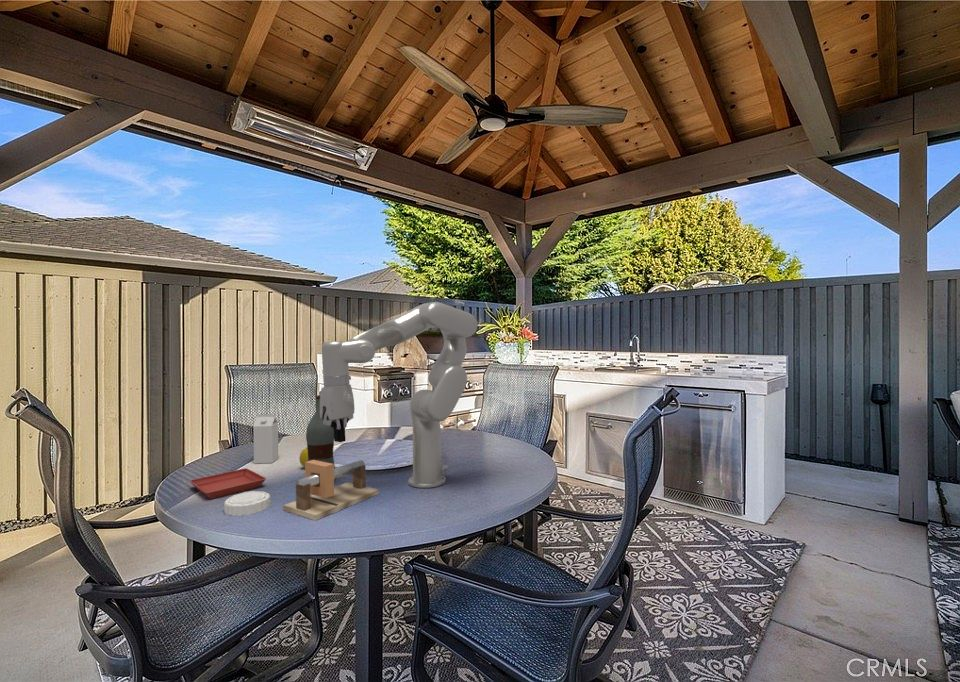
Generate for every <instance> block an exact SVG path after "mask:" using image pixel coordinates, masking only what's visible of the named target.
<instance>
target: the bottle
mask: <svg viewBox="0 0 960 682" xmlns="http://www.w3.org/2000/svg"><path fill="white" fill-rule="evenodd" d="M315 399H316V400H315V402H316V403H315V405H316V406H315V412H314V414H313V416H312V417H311V419H310V420H309V422H308V424H307V426H306V433H305V438H306V439H305V440H306V448H307V450H308V461H311V460H317V461H322V462H327V463H332V464H334V468H336V466H335V465H336V464H335V460H334V458H335V457H334V448H335V447H334V446H335V445H334V444H335V441H334V429H332V427H331V426H330V425H323V421H324V420H322V419H321V418H320V394H318V395H317V394H316V396H315Z"/></svg>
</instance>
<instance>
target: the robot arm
mask: <svg viewBox="0 0 960 682" xmlns="http://www.w3.org/2000/svg"><path fill="white" fill-rule="evenodd" d="M431 328H436V329H440V332H441V335H442V337H443V348H442V349H441V351H440V354H439V356H438V357H437V359H436V361H435V362H434V363H433V366H432V367H431V369H430V372H429V374H428V377H427V378H428V380H427V381H428V383H429V385H430V386H431V387H433V388H434V390H431V389H420V390H417V391H416V392H415V393H414V394H413V395H412V397H411V398H410V399H411V400H410V403H409V409H410V415H411V422H412V423H411V424H412V476H410V477H409V478H408V484H409V485H410V486H411V487H413V488H419V489H423V488H424V489H425V488H427V489H428V488H429V489H431V488H436V487H439V486H443V485H444V484H445V483H446V482H447V481H446V480H447V479H446V477H445V475H443V473H444V472H446V471H448V469H449V466H448V465H447V464H445V465H442V454H441V453H442V441H441V439H442V433H441V432H442V431H441V423H440V422H442V421H445V420H446V419H448V418H449V417H450V416H451V414H452V413H453V411H454V409H455V408H456V406H457V404H458V402H459V400H460V399H461V397H462V394H463V392H464V390H465V389H466V386H467V383H468V375H467V371H466V370H465V368H464V367H463V366H462V365H463V363H464V361H465V358H466V355H467V351H468V349H467V343H466V341H467V340H466V338H469V337H472V336H473V335H474V334H475V333H476V332H477V329H478V322H477V320H476V318H475V316H474V315H473V314H472V313H470V312H468V311H465V310H462V309H459V308H456V307H453V306H451V305H448V304H446V303H442V302H439V301H433V302H432V301H431V302H426V303H421V304H419V305H418V306H415V307H413V308H411V309H409V310H408V311H406V312H404V313H402V314H399V315H397V316H395V317H393V318H391V319H390V320H388V321H387V320H386V321H385V322H383V323H381V324H379V325H376V326H375V327H371V328H370V329H367V330H365V331H363V332H362V333H360V334H357V335H356V336H354V337H351V338H350V339H348V340H346V341H344V340H332V341H331V340H330V341H324V342H323V343H322V345H321V361H322V377H323V378H322V379H323V387H321V389H320V394H319V395H320V418H321V419H322V420H324V421H323V425H330V426H331V427H332V429H334V443H335V442H336V443H342V442H343V443H344V442H346V428H347V426H348V423H349V421H351V420H353V419H354V414H355V398H354V393H353V389H352V384H350V381H351V379H352V377H351V375H350V369H349V368H350V367H349V364H366V363H369V362H370V361H372V360H373V359H374V357H375V355H376V352H377V351H379V350H381V349H383V348H384V349H385V348H386V347H387V348H388V347H391V346H397V345H400V344H403V343H404V342H407V341H409V340H411V339H412V338H414V337H416V336H418V335H420V334H421V333H423V332H425V331H427V330H429V329H431Z"/></svg>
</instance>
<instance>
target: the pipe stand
mask: <svg viewBox="0 0 960 682" xmlns="http://www.w3.org/2000/svg"><path fill="white" fill-rule="evenodd" d="M366 467H367V466H366V465H364V466H361V467H360V470H359V471H356V472H353V473H352V482H349V481H347V482H344V483H342V484H339V485H337V486H334V495H333V496H330V497H327V498H324V497H320V496H316V495H313V494H310V484H307V485H304V486H303V485H299V484H297V482H296V483H295V501H292V502H288V503H286V504H283V505H282V509H283V510H282V511H284V512H287V513H289V514H293V515H295V516H296V515H297V516H299V515H300V516H299V517H302V516H303V517H302V518H305V517H306V519H308V518H309V520H311V519H312V520H311V521H316V522H317V521H318V520H321V519H323V518H325V517H327V516H328V517H329V516H330V515H332V514H334V513H337V512H339V510H340V511H342V510H344V509H347V508H349V507H352V506H353V505H356V504H359V503H361V502H363V501H366V500H369V499H371V498H372V497H376V496H377V495H379V494H380V493H379V489H378V488H373V487H370V486H366V485H367V483H366V482H367V481H366V479H367V478H366V477H367V475H366V473H367V472H366ZM302 486H303V489H302ZM299 487H301V488H299ZM298 488H299V489H298ZM301 489H302V490H301ZM351 505H352V506H351ZM346 507H347V508H346ZM343 508H344V509H343ZM341 509H342V510H341Z"/></svg>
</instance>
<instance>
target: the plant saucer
mask: <svg viewBox="0 0 960 682" xmlns="http://www.w3.org/2000/svg"><path fill="white" fill-rule="evenodd" d="M266 480H267V478H266V477H265V476H262V475H261V474H259V473H256V472H255V471H253V470H251V469H249V468H241V469H237V470H232V471H226V472H222V473H217V474H213V475H208V476H203V477H200V478H198V477H197V478H195V479H191V480H189V483H190V484H191V485H192V486H194V488H195V489H197V490H198V491H200V492H201V494H203V495H204V496H206V497H207V498H209V499H216V498H221V497H225V496H229V495H233V494H238V493H242V492H247V491H249V490H252V489H257V488H260V486H261V485H262V484H263V483H265V481H266Z"/></svg>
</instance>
